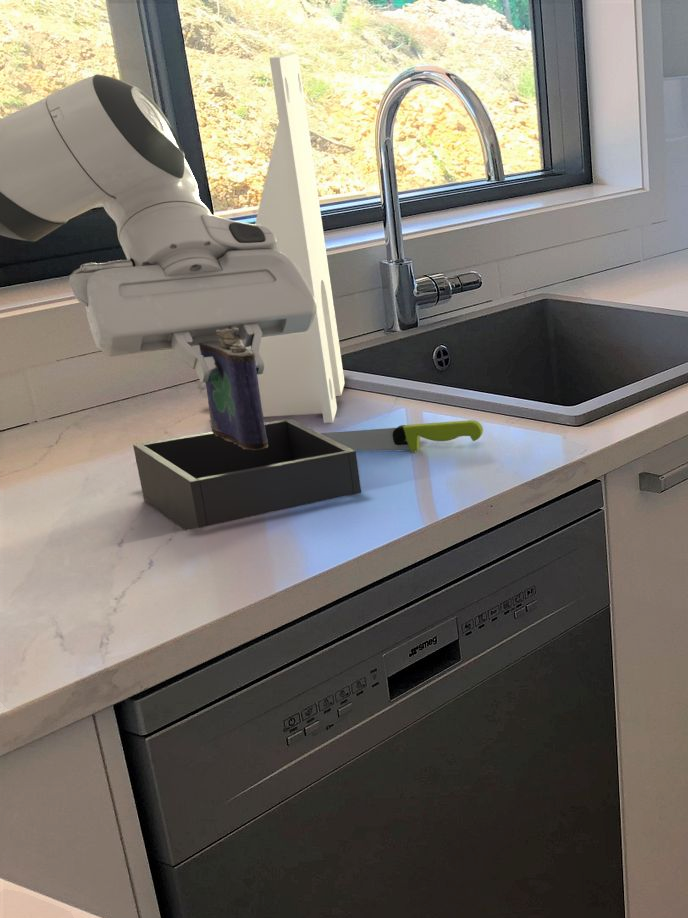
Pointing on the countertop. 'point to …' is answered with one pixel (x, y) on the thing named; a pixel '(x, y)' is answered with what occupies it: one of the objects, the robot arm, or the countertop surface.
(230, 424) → the flask
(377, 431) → the kitchen knife
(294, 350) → the white bracket plate
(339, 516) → the countertop surface
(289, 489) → the open dark grey box
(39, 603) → the countertop surface
